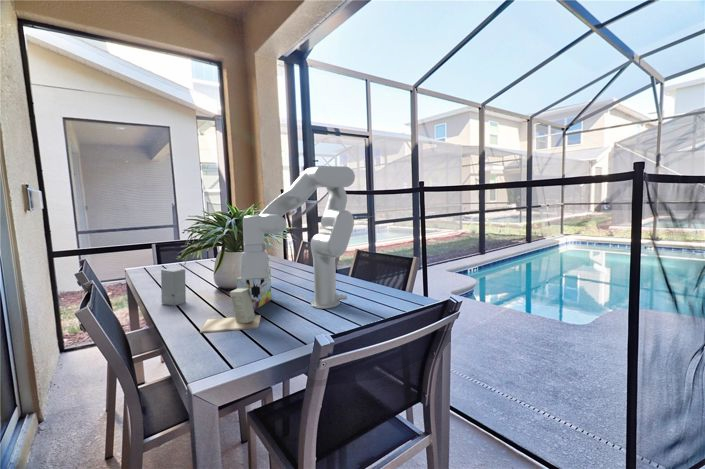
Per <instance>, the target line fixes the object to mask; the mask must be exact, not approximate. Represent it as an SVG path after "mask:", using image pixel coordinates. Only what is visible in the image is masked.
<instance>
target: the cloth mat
mask: <svg viewBox="0 0 705 469" xmlns="http://www.w3.org/2000/svg"><path fill="white" fill-rule="evenodd" d="M261 317H262V315H260V314H258V315H255V319H254V320H252V321H250V322H249V323H239V322H236V319H235V316H234V317H222V318H212V319H210V318H207V320H206V322H205V323H204V324H203V326H202V328H200V330H199V333H200V334H205V333H216V332H226V331H227V332H228V331H238V330H249V329H259V328H260V322H261Z"/></svg>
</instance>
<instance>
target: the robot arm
mask: <svg viewBox="0 0 705 469" xmlns="http://www.w3.org/2000/svg"><path fill="white" fill-rule="evenodd" d="M355 178H356V174H355V171H354V170H353V169H352V168H351V167H349V166H346V165H345V166H342V165H340V166H337V165H336V166H335V165H319V166H318V165H317V166H310V167H307V168H306V169H305V170H304V171H303V172H302V173H301V174H300V175H299V176H298V177H297V178H296V179H295V181H293V183H291V185H290V186H289V187H288V189H287V190H285V191H284V192H283V193H281V194H279V195H278V197H276V198H275V199H274V200H272V201H271V202H269V203H268V205H267V206H266V207H265V208H264V209H263V210H262V211H261V212H260V214H259V215H258V214H253V215H252V214H251V215H245V216H243V217H242V233H243V234H242V235H243V236H242V239H243V251H242V252H241V258H240V277H241V280H240V281H241V282H244V283H247V284H249V285H250V287H251V292H252V295H253V298H255V297H256V298H257V297H258V295H260V285H261V284H262V283H263V282H266V281H269V280H270V277H269V268H270V264H269V254H268V251H267V249H270V248H269V247H270V246H269V244H265V243H266V242H265V234H267V235H268V234H270V235H278V234H281V233H283V232H284V231H285V230H286V228H287V221H286V219H285V218H284V217H283V216H284V215H285V214H287V213H288V212H291V211H293V210H296V209H298V208H300V207H302V206H304V204H305V203H306V202H307V201H308V200H309V198H310V197H311V196H312V195H313V193H315V191H316V190H317V189H318V188H326V191H327V201H326V204H325V207H324V209H323V213H322V216H321V220H320V223H321V224H320V225H321V227H322V228H323V229H324V230H326V231H329V232H319V233H316V234H314V235H313V236H312V238H311V239H310V251H311V255H312V262H313V263H312V264H313V265H312V266H313V267H312V268H313V294H314V298H313V299H312V300H311V302H310V305H311V307H313V308H316V309H322V310H324V309H333V308H337V307H338V306H339V305H341V303H340V302H341V300H344V301H346V300H347V299H348V296H347V294H345V295H344V294H342V293H341V294H338V292H337V286H336V285H337V283H336V281H337V280H336V278H337V277H336V274H337V273H336V260H335V258H340V257H342V256H343V255H344V254H345V252H346V250H347V248H348V245H349V243H350V241H351V236H352V233H353V231H354V226H355V219H354V216H353V214H352V212H351V211H349V210H347V209H346V208H347V203H348V196H347V192H346V189H345V188H348V187H350V186H352V185H353V184H354V182H355ZM253 279H258V280H257V284H256V286H255V284H254V280H253Z"/></svg>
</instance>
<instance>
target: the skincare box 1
mask: <svg viewBox="0 0 705 469" xmlns="http://www.w3.org/2000/svg"><path fill="white" fill-rule="evenodd" d="M160 273H161V274H160V275H161V277H160V279H161V282H160V283H161V285H160V286H161V288H160V290H161V304H162V305H166V306H179V305H181V304H185V303H186V302H187V300H186V299H187V298H186V297H187V296H186V294H187V293H186V289H187V288H186V269H184V268H180V267H179V268H178V267H170V268H163V269H161V270H160Z"/></svg>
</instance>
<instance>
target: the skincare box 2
mask: <svg viewBox="0 0 705 469" xmlns="http://www.w3.org/2000/svg"><path fill="white" fill-rule="evenodd" d="M229 296H230V300H231V303H232V304H231V305H232V310H233V312H234V314H233V315H234V317H235V319H236V322H239V323H249V322H250V321H252V320H254V319H255V316H256V315H255V314H256V313H255V310H254V309H253V304H252V299H251V295H250V290H249V288H237V287H236V288H235V289H233V290H231V291H229Z"/></svg>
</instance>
